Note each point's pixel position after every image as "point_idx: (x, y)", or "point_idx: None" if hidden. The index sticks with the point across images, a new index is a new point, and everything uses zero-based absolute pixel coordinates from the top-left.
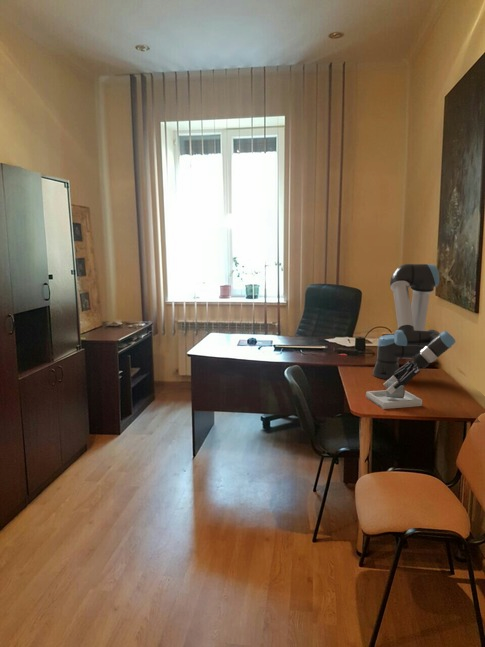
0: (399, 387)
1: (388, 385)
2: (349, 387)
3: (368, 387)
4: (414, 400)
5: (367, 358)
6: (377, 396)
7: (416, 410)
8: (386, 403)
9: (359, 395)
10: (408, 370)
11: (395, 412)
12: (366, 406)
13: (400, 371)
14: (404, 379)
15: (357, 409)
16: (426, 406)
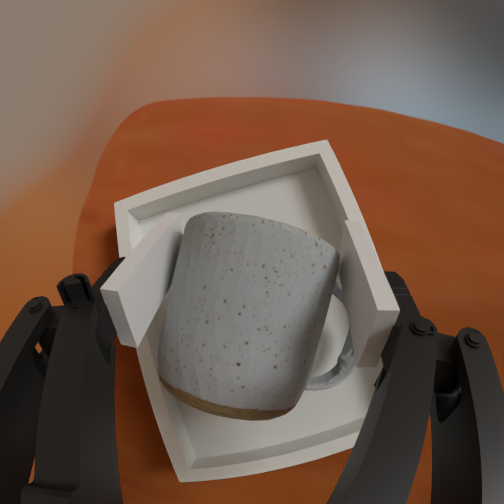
0: (162, 334)
1: (192, 220)
2: (456, 131)
3: (490, 221)
4: (160, 431)
5: None
6: (317, 218)
7: (115, 402)
8: (119, 224)
9: (351, 138)
10: (29, 496)
11: (86, 272)
12: (172, 144)
13: (373, 432)
14: (8, 339)
15: (141, 111)
16: (187, 484)
